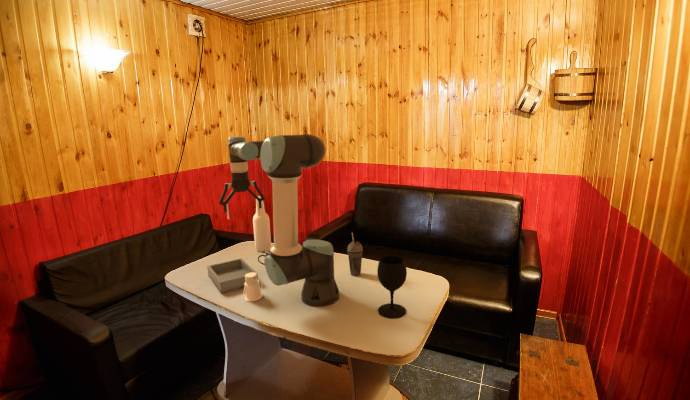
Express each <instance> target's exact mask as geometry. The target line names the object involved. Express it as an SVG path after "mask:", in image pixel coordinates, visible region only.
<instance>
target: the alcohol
mask: <svg viewBox="0 0 690 400" xmlns="http://www.w3.org/2000/svg"><path fill="white" fill-rule="evenodd" d="M257 196H258V197H259V198H261V197H260V195H257ZM256 201H258V200H257V199H256V198H255V207H256V208H255V213H254V215H253V217H252V226H253V238H254V249H255V250H256V251H257V252H260V253H266V252H265V251H266V250H267V249H270V248H271V246H272V237H271V225H270V224H271V223H270V222H271V221H270V216H269V214H268V213H267V212H266V210H265V204H264V200H263V201H261V206H262V208H260V209H259V210H260V216H258V215H257V203H256Z"/></svg>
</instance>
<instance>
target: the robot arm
mask: <svg viewBox="0 0 690 400" xmlns="http://www.w3.org/2000/svg"><path fill="white" fill-rule="evenodd" d="M227 147H228V157H229V166H230V172H231V173H230V177H231V183H227V182H225V183H224V188H223V191H222V193H221V196H220V198H219V201H218V204H219V205H222V206H223V212H224V213H226V215H227V216H226V217H227V220H230V212H229V204H228V203H229V202H230V201H231V199H232V198H233V196H234V195H235V194H236V192H237V193H241V192H243V193H245V192H248V193H249V194H250V195H251V196H252V197H254V198H255V204H256V203H257V215H258V216H260V210H259V209H260V208H262V206H261V201H263V202H264V201H265V199H266V197H265V196H264V194H263V193H262V191H261V190H260V188H259V187H258V183H257V181H256V180H253V181H252V180H251V181H250V177H249V175H250V174H249V171H248V170H249V164H248V161H252V160H257V159H258V160H259V159H260V163H261V168H262V170H263V171H264V172H265V173H266V174H267V177H268V179H270V180H271V184H272V185H271V186H272V214H273V215H272V217H273V218H272V219H273V222H272V223H273V244H271V248H270V255H267V256H266V257H264V258H263V259H264V261H263V263H264V264H265V265H264V267H265V271H266V274H267V276H268V278H269V280H270V282H271V283H272V284H273V285H275V286H277V287H278V286H283V285H288V284H290V283H294V282H298V281H300V280H304V283H303V285H302V289H301V292H300V293H301V294H300V295H301V297H300V298H301V301H302V303H304V304H306V305H308V306H312V307H325V306H329V305H332V304H334V303H336V302H337V301H338V300H339V299H340V290H339V287H338V284H337V282H336V279H335V262H334V261H335V259H334V256H335V254H334V253H335V252H334V246H333V245H332V243H331V242H329V241H326V240H322V239H308V240H307V239H306V240H305V241H303V242H302V245H301V244H300V243H299V212H298V211H299V210H298V209H299V207H298V205H299V203H298V195H299V194H298V191H299V190H298V180H299V179H300V178H301V177H302V176H303V169H308V168H312V167H315V166H317V165H319V164H321V163H322V161H323V160H324V159H325V156H326V151H327V147H326V145H325V143H324V141H323V140H322V139H321V138H320V137H318V136H316V135H314V134H311V133H310V134H309V133H308V134H304V133H303V134H284V135H283V134H281V135H279V134H278V135H273V136H269V137H266V138H265V140H257V141H256V140H254V141H246V138H245V136H231V137H228V139H227ZM251 186H252V187H254V188H255V190H256V192H257V194H258V195H257V194H256V193H255V192H253V191H252V190H251V188H250V187H251ZM230 188H232V190H231V192H230V193H229V195H228V196H227V197H226V195H227V192H228V190H229V189H230ZM258 196H260V197H261V198H259V197H258ZM225 197H226V199H225ZM256 199H257V200H258V201H256Z"/></svg>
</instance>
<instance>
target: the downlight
mask: <svg viewBox="0 0 690 400" xmlns="http://www.w3.org/2000/svg"><path fill="white" fill-rule="evenodd" d="M257 275H258V272H257V273H255V272H251V273H247V274H246V275H245V280H246V282H245V283H244V285H245V286H244V288H243V294H242V297H243V298H244V299H245V301H246V302H256V301H258V300H261V299H262V297H264V295H263V283H261V284H260V280H259V279H258V280H257Z"/></svg>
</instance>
